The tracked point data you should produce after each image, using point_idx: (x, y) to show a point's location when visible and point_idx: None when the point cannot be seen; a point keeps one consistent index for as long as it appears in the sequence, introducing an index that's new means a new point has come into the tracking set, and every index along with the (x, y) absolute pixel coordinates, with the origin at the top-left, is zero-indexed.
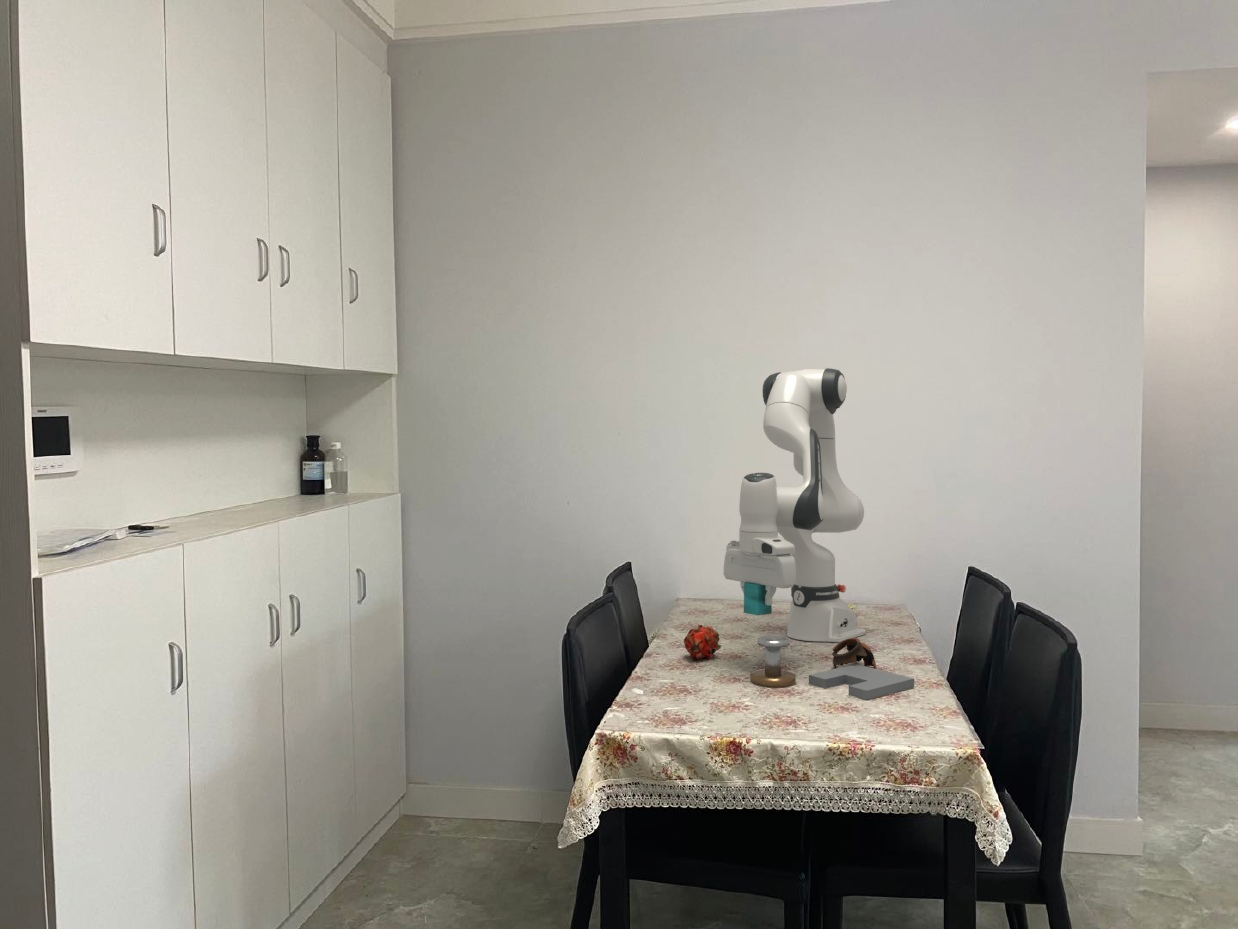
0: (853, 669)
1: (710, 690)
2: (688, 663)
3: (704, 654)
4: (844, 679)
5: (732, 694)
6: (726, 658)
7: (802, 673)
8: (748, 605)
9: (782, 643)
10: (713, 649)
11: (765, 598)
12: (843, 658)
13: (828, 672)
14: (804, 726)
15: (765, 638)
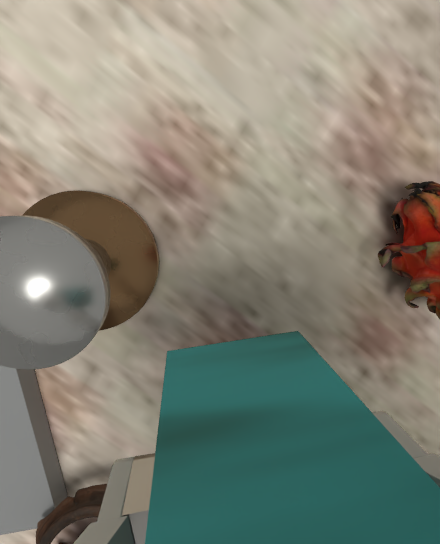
0: (9, 486)
1: (94, 15)
2: (394, 173)
3: (403, 238)
4: None
5: (18, 49)
6: (371, 305)
7: (131, 385)
8: (270, 366)
9: None
10: (387, 254)
11: (120, 507)
12: (66, 512)
13: (8, 410)
14: None
15: (58, 276)
